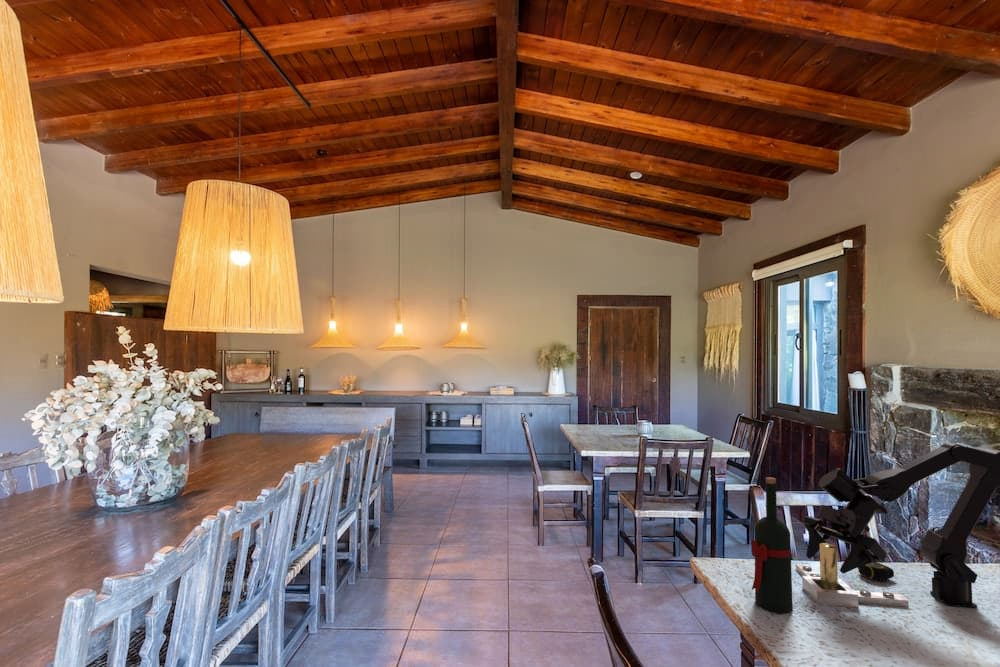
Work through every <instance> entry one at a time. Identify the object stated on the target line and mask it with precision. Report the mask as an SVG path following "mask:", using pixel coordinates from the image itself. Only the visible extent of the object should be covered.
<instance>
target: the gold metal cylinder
mask: <svg viewBox="0 0 1000 667" xmlns="http://www.w3.org/2000/svg"><path fill="white" fill-rule="evenodd" d="M819 574H820V583H821V589H828V590H838V579H839V578H838V577H839V576H838V547H837V545H835V544H832V543H828V542H827V543H820V550H819Z"/></svg>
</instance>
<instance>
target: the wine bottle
mask: <svg viewBox="0 0 1000 667" xmlns="http://www.w3.org/2000/svg"><path fill="white" fill-rule="evenodd" d="M765 499H766V500H765V501H766V502H765V505H766V506H765V507H766V508H765V509H766V510H765V511H766V516H763V517H762V518H759V519H758V520H757V521H756V522H755V524H754V527H753V528H754V530H753V532H754V539H752V540H751V543H750V547H751V548H750V549H751V556H752V557H754V578H753V584H752V586H751V591H753V590H754V594H755V596H754V597H755V598H754V600H755V605H756V606H758V608H760V609H761V610H764V611H766V612H768V613H772V614H778V615H787V614H790V613H792V611H794V610H793V609H794V607H793V606H794V605H793V604H794V603H793V582H792V581H793V578H792V577H793V576H792V550H791V549H792V547H791V546H792V545H791V532H790V530H789V528H788V526H787V525H786V522H784V521H782V520H781V519H780V518H778V514H777V512H778V510H777V508H778V507H777V505H778V504H777V478H775V477H771V476H769V477H768V476H767V477H765Z"/></svg>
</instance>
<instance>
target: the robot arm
mask: <svg viewBox="0 0 1000 667" xmlns="http://www.w3.org/2000/svg"><path fill="white" fill-rule="evenodd" d="M959 462H962V463H963V462H964V463H967V464H968V463H969V479H968V481H967V484H965V486H964V489H963V491H962V492H961V494H960V496H959V497H958V499H957V500H956V502H955V504H954V506H953V507H952V510H950V514H949V515H948V517H947V518H946V520H945V522H944V524H943V526H942V527H941V528H940V529H937V530H936V531H933V530H931V529H927V531H926V533H925V535H924V538H923V539H922V540H920V541H919V544H921V547H920V552H921V555H922V556H923V558H924V559H925V560H926V561H928V563H929V565H930V567H931V568H932V569H935V570H933V571H932V572H933V577H931V591H929V594H930V595H932V596H934V597H935V598H936V599H937V600H939V601H940V602H942V603H943V604H944V605H947V606H952V607H965V608H974V609H975V608H977V609H978V604H976V603H974V602H973V587H972V586H973V585H972V584H976V581H977V578H978V573H976V572H975V571H973V569H971V568H970V567H969V566H968V565H967V564H966V559H967V556H968V545H967V541H968V539H969V537H970V535H971V533H972V531H973V530H974V528H975V526H976V525H977V523H978V522H979V520H980V517H981V516H982V514H983V513H984V510H985V509H986V507H987V506H988V503H989V502H990V500H991V499H992V497H993V495H994V493H995V491H996V490H997V489H998V488H1000V450H999V449H995V448H992V447H981V448H972V447H969V446H964V445H961V444H960V443H959V444H958V443H954V442H949V441H948V442H944V443H943V444H941V445H940V446H939V447H937V448H935V449H932V450H930V451H929V452H927V453H925V454H923V455H921V456H919V457H917V458H915V459H913V460H910V461H909V462H906V463H904V464H903V465H900V466H898V467H896V468H892V469H891V468H890V469H883V470H881V471H880V470H879V471H877V472H873V473H871V474H868V475H867V476H866V477H865V478H864V477H863V478H857V479H852V478H851V477H850V476H849V475H848V474H847V473H846V472H845V471H844V470H843V469H841V468H839V467H836V469H834V470H831V471H829V472H828V473H825V474H824V475H823V476H822V477H821V478H820V480H819V482H818V487H819V488H821V489H822V490H823V491H825V492H826V493H827V494H828V495H829V496H831V498H833V499H834V500H836V501H837V502H839V503H843V502H845V503H847V504H846V505H845V506H844V508H833V507H831V506H827V505H824V504H821V505H820V508H819V511H818V515H817V517H818V518H817V517H813V516H809V515H807V516H805V517H804V519H803V521H802V522H801V523H802V526H804V528H805V529H806V531H807V533H808V542H807V543H808V544H807V549H806V554H805V556H806V557H807V558H808V560H810V559H812V558H813V557H814V556H815V555H817V553H818V552H820V543H828V542H827V540H829V539H830V538H833V539H835V540H838V541H841V542H844V543H846V544H850V552H849V553H848V554H847V557H846V558H845V560H844V561H843V563H842V564H841V567H840V568H839V572H840V573H841V574H846V573H849V572H850V571H853V570H854V569H855V570H856V569H858V567H860V566H863V565H866V564H869V563H876V562H878V563H880V564H882V563H884V562H885V560H886V558H887V551H886V549H885V548H884V547H883V546H882V545H881V544H880V542H878V540H877V539H876V538H874V537H871V536H867V535H866V534H863V533H864V532H867V533H869V532H870V530H871V528H870V527H869V526H868V525H869V524H870V522H871V521H872V519H873V517H874V516H875V514H877V515H888V509H887V508H886V505H885V502H887V503H891V502H895V501H897V500H898V499H899V498H901V497H903V496H904V495H905V494H906V493H907V492H908V490H910V488H911V487H912V486H913V485H915V484H916V483H918V482H920V481H922V480H923V479H926V478H928V477H931V476H932V475H934V474H937V473H939V472H941V471H943V470H944V469H947V468H949V467H951V466H953V465H955V464H957V463H959ZM873 497H875V498H877V499H879V500H881V501H883V502H878V501H877V500H876V499H875V498H873ZM819 518H821V519H824V520H825V521H826V523H827V525H828V526H830V527H831V528H830V527H827V525H826V524H825V523H824V522H823V520H821V519H819Z"/></svg>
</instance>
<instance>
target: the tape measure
mask: <svg viewBox="0 0 1000 667" xmlns="http://www.w3.org/2000/svg"><path fill="white" fill-rule="evenodd" d="M857 569H858V573H859V574H860V575H861V576H863V577H865V578H868V579H871V580H873V581H883V582H884V581H887V580H890V579H892V578H893V577H894V576H895V572H894V570H893V568H891V567H889V566H887V565H885V564H882V563H881V562H878V561H876V563H869V564H866V565H863V566H860V567H858V568H857Z"/></svg>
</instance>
